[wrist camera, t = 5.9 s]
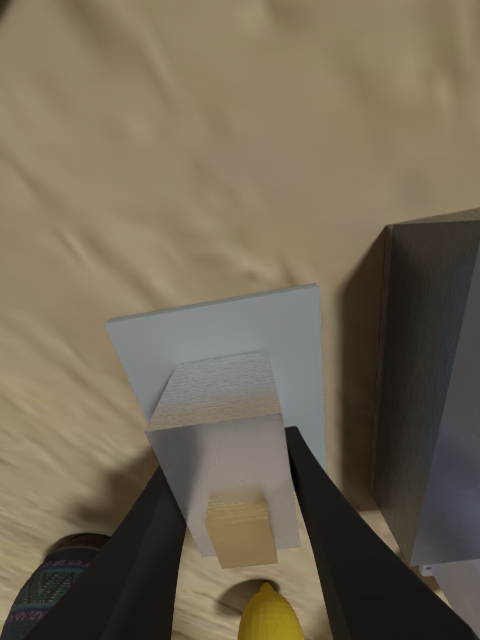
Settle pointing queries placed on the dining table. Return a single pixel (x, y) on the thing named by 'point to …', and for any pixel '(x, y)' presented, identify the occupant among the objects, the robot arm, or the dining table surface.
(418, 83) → the dining table surface
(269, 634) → the lemon
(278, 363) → the mat
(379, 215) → the dining table surface
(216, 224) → the dining table surface
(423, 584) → the robot arm
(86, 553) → the mate gourd
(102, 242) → the dining table surface
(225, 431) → the pale grey block
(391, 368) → the body
